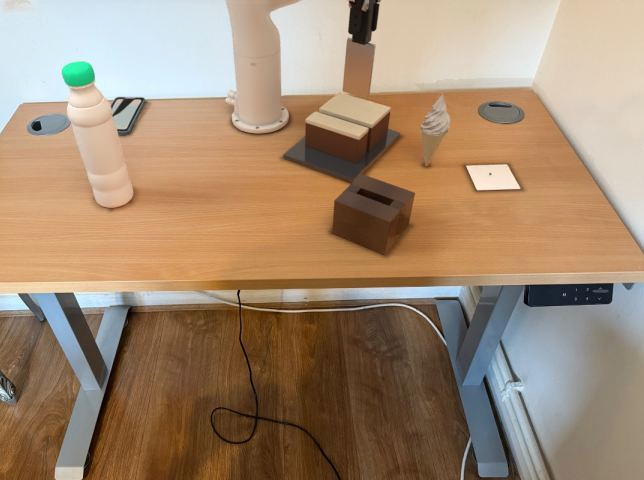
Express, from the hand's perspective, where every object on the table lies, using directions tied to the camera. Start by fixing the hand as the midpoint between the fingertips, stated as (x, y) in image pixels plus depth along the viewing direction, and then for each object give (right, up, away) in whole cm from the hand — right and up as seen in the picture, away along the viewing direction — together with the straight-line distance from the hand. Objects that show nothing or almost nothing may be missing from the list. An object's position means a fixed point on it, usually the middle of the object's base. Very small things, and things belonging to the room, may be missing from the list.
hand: (362, 31), depth 84 cm
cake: (+3, -8, +27) cm, 29 cm away
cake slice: (-2, -13, +23) cm, 27 cm away
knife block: (+3, -30, +8) cm, 31 cm away
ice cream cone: (+16, -16, +21) cm, 31 cm away
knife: (0, -7, +8) cm, 11 cm away
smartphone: (-48, -2, +37) cm, 61 cm away
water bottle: (-44, -24, +16) cm, 52 cm away
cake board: (0, -11, +26) cm, 28 cm away
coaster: (+28, -19, +17) cm, 38 cm away
